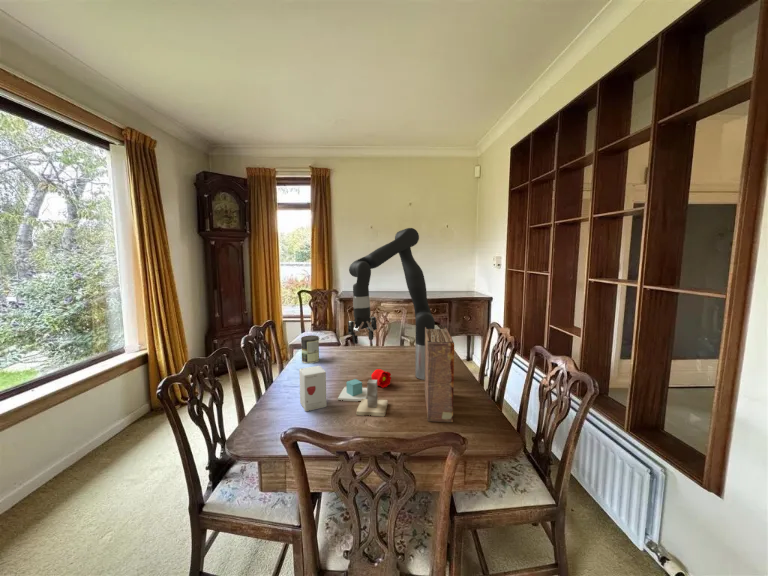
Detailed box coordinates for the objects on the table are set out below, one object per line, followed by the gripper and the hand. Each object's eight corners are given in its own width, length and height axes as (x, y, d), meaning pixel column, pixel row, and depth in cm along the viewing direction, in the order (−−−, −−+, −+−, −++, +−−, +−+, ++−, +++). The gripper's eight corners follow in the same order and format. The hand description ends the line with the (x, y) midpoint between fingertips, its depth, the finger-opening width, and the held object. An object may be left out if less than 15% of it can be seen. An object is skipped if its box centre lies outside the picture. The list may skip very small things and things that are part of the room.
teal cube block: (356, 389, 143) (355, 378, 143) (362, 393, 139) (362, 382, 139) (346, 392, 140) (346, 381, 140) (352, 396, 136) (352, 385, 136)
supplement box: (304, 412, 125) (303, 375, 123) (299, 403, 133) (298, 368, 131) (327, 407, 129) (326, 371, 127) (321, 398, 137) (320, 364, 135)
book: (424, 392, 142) (424, 327, 139) (445, 393, 141) (446, 327, 138) (427, 422, 116) (428, 342, 114) (453, 422, 116) (454, 342, 113)
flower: (382, 369, 157) (393, 373, 151) (378, 385, 155) (389, 389, 149) (371, 366, 152) (382, 370, 146) (366, 382, 150) (377, 386, 144)
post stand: (387, 403, 132) (387, 376, 130) (384, 416, 121) (384, 387, 120) (361, 402, 133) (361, 375, 132) (356, 415, 122) (355, 386, 121)
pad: (370, 390, 145) (370, 387, 145) (365, 401, 133) (365, 399, 133) (344, 388, 146) (344, 386, 146) (337, 400, 135) (337, 398, 134)
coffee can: (298, 363, 183) (298, 339, 182) (305, 357, 193) (304, 335, 192) (315, 363, 182) (315, 339, 180) (321, 358, 192) (321, 335, 191)
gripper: (369, 303, 149) (370, 337, 150) (343, 307, 139) (345, 343, 141) (379, 304, 143) (380, 339, 144) (353, 309, 134) (355, 346, 135)
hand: (363, 341), depth 143 cm, fingers open, 8 cm apart
